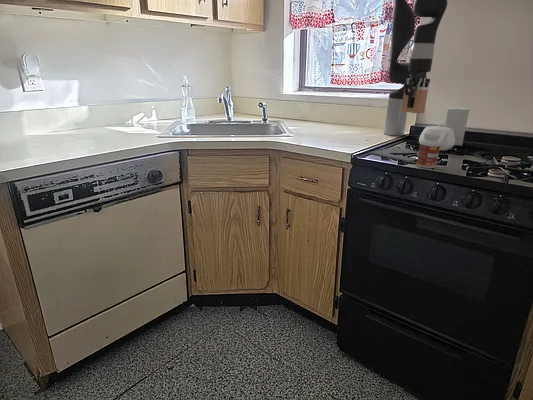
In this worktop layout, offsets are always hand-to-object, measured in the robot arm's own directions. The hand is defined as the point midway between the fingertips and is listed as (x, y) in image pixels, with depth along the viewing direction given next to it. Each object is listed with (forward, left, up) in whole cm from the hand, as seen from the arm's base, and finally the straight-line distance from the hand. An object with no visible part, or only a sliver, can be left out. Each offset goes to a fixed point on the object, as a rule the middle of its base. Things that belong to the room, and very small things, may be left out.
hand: (413, 107), depth 135 cm
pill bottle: (+12, +14, -18) cm, 26 cm away
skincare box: (-35, +1, -18) cm, 40 cm away
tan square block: (0, 0, -2) cm, 2 cm away
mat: (+4, 0, -18) cm, 18 cm away
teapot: (-19, +2, -18) cm, 26 cm away
